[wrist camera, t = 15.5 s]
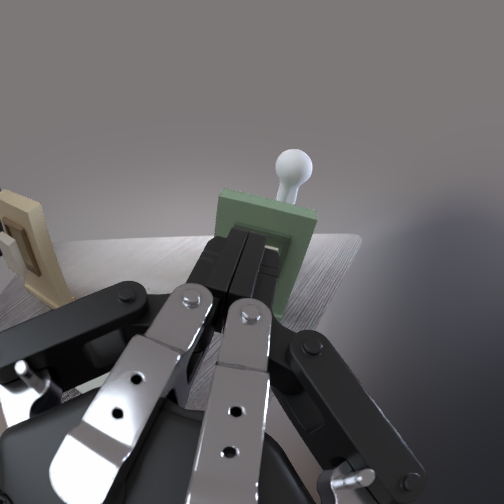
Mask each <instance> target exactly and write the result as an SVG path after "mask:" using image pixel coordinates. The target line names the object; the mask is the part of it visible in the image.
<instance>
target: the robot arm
mask: <svg viewBox="0 0 504 504" xmlns="http://www.w3.org/2000/svg"><path fill="white" fill-rule="evenodd" d="M0 192H1V189H0ZM2 231H3V232H4V229H3V226H2V223H1V220H0V232H2ZM4 233H5V232H4ZM266 241H267V235H263V234H259V233H255V232H250V234H249V231H247V230H243V229H238V228H234V227H232V228H231V230H230V232H229V234H228V236H227V238H224V237H220V236H216V237H214V238H213V239H211V240H210V241H208V243H207V245H206V247H205V248H204V251H203V252H202V254H201V256H200V258H199V259H198V261H197V263H196V265H195V267H194V269H193V271H192V272H191V274H190V276H189V278H188V280H187V282H186V283H185V284H183V285H180V286H178V287H177V288H176V289H174V291H173V292H172V293H170V294H147V292H146V289H145V288H144V287H143V286H142V285H141V284H139V283H137V282H134V281H124V282H120V283H118V284H115V285H113V286H110V287H108V288H105V289H103V290H100V291H98V292H95V293H93V294H90V295H88V296H85V297H83V298H80V299H78V300H75V301H73V302H71V303H68V304H66V305H63V306H61V307H58V308H56V309H54V310H51V311H49V312H46V313H44V314H42V315H39V316H37V317H35V318H32V319H30V320H27V321H25V322H23V323H20V324H18V325H16V326H13V327H11V328H9V329H7V330H4V331H2V332H0V402H1V407H2V410H3V414H4V418H5V421H6V424H7V429H6V430H5V431H4V432H3V433H2V435H1V437H0V504H316V503H315V501H314V500H313V498H312V497H311V495H310V494H309V492H308V490H307V489H306V487H305V486H304V484H303V482H302V481H301V479H300V477H299V476H298V474H297V473H296V471H295V469H294V467H293V466H292V464H291V462H290V461H289V459H288V457H287V456H286V454H285V452H284V451H283V449H282V448H281V447H280V445H279V444H278V443H277V442H276V441H275V440H274V439H273V438H272V437H271V436H269V435H268V434H267V433H265V432H264V430H265V421H266V411H267V402H268V392H269V385H270V386H271V389H272V391H273V393H274V395H275V396H276V398H277V399H278V401H279V403H280V404H281V406H282V408H283V409H284V411H285V412H286V414H287V416H288V417H289V419H290V420H291V422H292V424H293V425H294V427H295V428H296V430H297V431H298V433H299V435H300V436H301V438H302V439H303V441H304V442H305V444H306V445H307V447H308V448H309V449H310V451H311V453H312V454H313V456H314V457H315V459H316V460H317V462H318V463H319V465H320V466H321V468H322V469H323V470H324V471H323V472H322V473H321V475H320V476H319V478H318V480H317V491H318V493H319V495H320V498H321V504H407V503H410V502H413V501H415V500H416V499H417V498H419V497H420V495H421V494H422V493H423V491H424V489H425V487H426V482H427V475H426V472H425V470H424V468H423V467H422V465H421V464H420V462H419V461H418V460H417V458H416V457H415V456H414V454H413V453H412V452H411V450H410V449H409V447H408V446H407V445H406V443H405V442H404V441H403V439H402V438H401V437H400V435H399V434H398V433H397V431H396V430H395V428H394V427H393V426H392V424H391V423H390V422H389V420H388V419H387V418H386V416H385V415H384V414H383V412H382V411H381V410H380V408H379V407H378V406H377V404H376V403H375V401H374V400H373V399H372V397H371V396H370V395H369V393H368V392H367V391H366V389H365V388H364V387H363V385H362V384H361V383H360V382H359V380H358V379H357V377H356V376H355V375H354V373H353V372H352V371H351V369H350V368H349V367H348V365H347V364H346V363H345V362H344V360H343V359H342V357H341V356H340V355H339V353H338V352H337V351H336V350H335V348H334V347H333V345H332V344H331V343H330V341H329V340H328V339H327V338H326V337H325V336H324V335H322V334H321V333H319V332H317V331H313V330H303V331H300V332H298V333H295V332H293V331H291V330H289V329H287V328H286V327H284V326H283V325H281V324H280V323H279V322H278V321H277V319H276V318H275V316H274V314H273V309H272V307H273V301H274V295H275V290H276V284H277V279H278V273H279V267H280V262H281V259H280V256H279V254H278V251H277V250H273V249H269V248H265V245H266ZM223 325H224V327H223ZM222 328H223V337H222V342H221V346H220V351H219V355H218V359H217V362H216V365H215V369H214V373H213V377H212V382H211V386H210V391H209V395H208V400H207V404H206V409H205V411H199V410H187V409H184V408H185V406H186V403H187V400H188V397H189V392H190V389H191V386H192V384H193V382H194V380H195V377H196V375H197V373H198V371H199V369H200V366H201V364H202V362H203V360H204V358H205V355H206V353H207V351H208V349H209V344H210V342H211V340H212V337H213V334H214V331H215V332H219V333H221V331H222ZM109 372H110V373H109ZM106 373H109V375H108V376H107V378H106V380H105V381H104V383H103V384H102V386H100V387H97V388H94V389H91V390H89V391H87V392H85V393H83V394H81V395H79V396H77V397H75V398H73V399H71V400H68V401H66V402H64V403H62V399H61V398H62V393H63V392H65V391H68V390H70V389H72V388H75V387H77V386H79V385H82V384H84V383H86V382H89V381H91V380H93V379H95V378H98V377H100V376H102V375H104V374H106ZM61 403H62V404H61Z"/></svg>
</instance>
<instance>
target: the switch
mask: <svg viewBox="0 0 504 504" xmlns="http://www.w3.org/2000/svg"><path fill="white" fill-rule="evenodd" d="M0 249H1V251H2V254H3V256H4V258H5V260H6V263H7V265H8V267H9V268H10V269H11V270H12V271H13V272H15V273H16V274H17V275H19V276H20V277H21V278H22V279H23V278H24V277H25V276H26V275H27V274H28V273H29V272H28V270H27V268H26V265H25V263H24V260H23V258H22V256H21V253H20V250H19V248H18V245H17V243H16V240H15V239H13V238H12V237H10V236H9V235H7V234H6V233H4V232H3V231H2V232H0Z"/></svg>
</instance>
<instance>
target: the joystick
mask: <svg viewBox="0 0 504 504" xmlns="http://www.w3.org/2000/svg"><path fill="white" fill-rule="evenodd" d="M276 172H277V175H278V176H279V179H280V186H279V190H278V193H277V196H276V200H277V201H282V202H285V203H289V204H293V205H295V200H296V196H297V191H298V188H299V186H300V185H301V184H302V183H304V182H305V181H306V180H307V179H308V178H309V177H310V175H311V173H312V163H311V160H310V158H309V157H308V155H307V154H306V153H304V152H303V151H301V150H297V149H290V150H287V151H284V152H283V153H282V154H281V155H280V156H279V157H278V159H277V161H276Z"/></svg>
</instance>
